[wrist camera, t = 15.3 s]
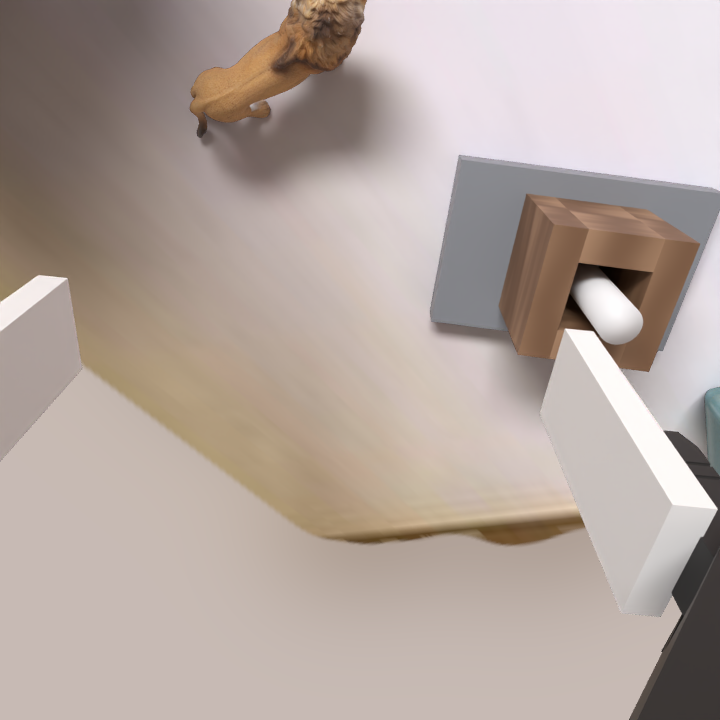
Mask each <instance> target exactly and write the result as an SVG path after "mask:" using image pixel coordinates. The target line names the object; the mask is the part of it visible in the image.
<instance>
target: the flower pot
mask: <svg viewBox="0 0 720 720" xmlns="http://www.w3.org/2000/svg"><path fill="white" fill-rule="evenodd" d="M705 411H706V429H707V451H708V461H709V463H710V467H713V468H714V469H715V471H716V472H717V473H718V474H719V476H720V387H717V388H713V389H710V390H708V391H707V393H706V395H705Z"/></svg>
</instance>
